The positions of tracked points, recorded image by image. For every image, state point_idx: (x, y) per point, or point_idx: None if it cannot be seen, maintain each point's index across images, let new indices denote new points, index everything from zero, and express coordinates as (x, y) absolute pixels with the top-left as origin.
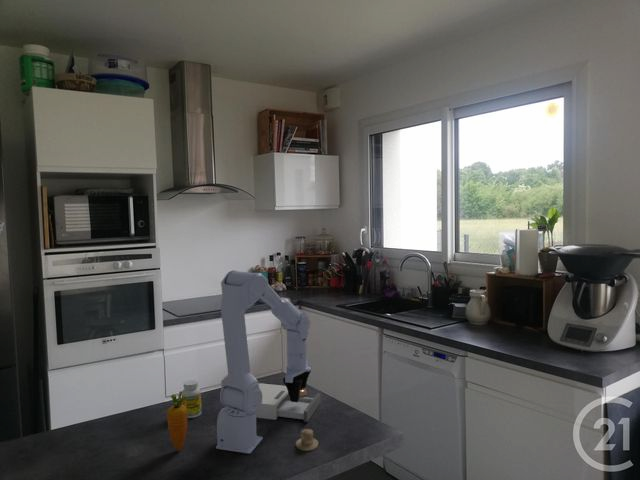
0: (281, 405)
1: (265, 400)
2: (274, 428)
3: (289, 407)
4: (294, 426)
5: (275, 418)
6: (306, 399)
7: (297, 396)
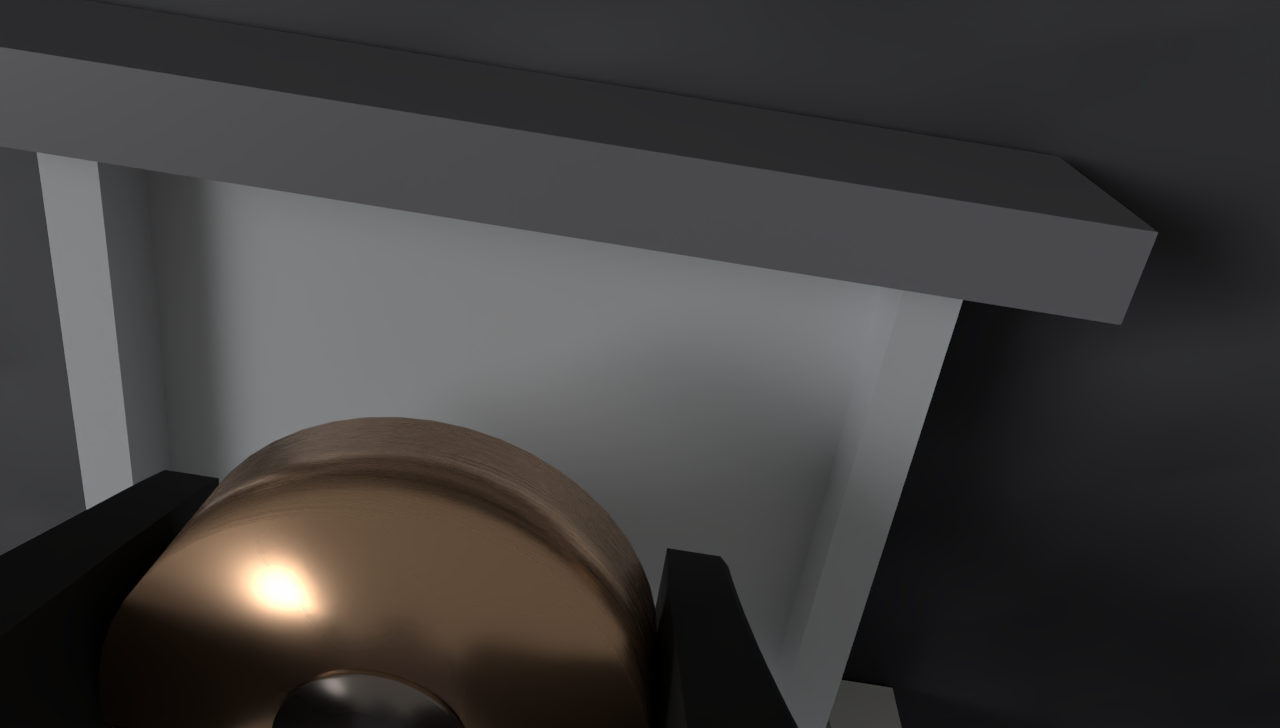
0: None
1: None
2: (1202, 659)
3: None
4: (1167, 374)
5: (894, 706)
6: (133, 343)
7: (761, 674)
